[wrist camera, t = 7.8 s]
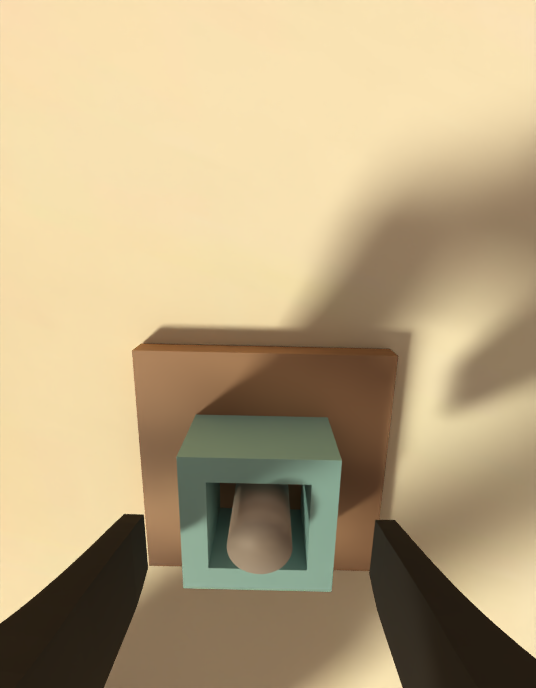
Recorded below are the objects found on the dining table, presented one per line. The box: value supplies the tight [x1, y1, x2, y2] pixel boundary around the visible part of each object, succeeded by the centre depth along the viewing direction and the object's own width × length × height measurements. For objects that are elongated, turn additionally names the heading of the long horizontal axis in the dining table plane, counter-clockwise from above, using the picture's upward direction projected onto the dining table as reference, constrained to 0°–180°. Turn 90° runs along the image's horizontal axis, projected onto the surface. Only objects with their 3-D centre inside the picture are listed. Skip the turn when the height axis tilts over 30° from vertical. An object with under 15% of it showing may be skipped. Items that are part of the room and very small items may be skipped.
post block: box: [132, 344, 398, 574], centre depth 13 cm, size 10×10×5 cm
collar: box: [176, 415, 342, 592], centre depth 14 cm, size 5×5×3 cm
